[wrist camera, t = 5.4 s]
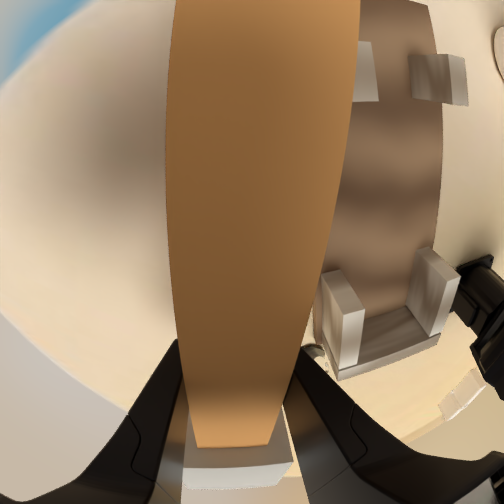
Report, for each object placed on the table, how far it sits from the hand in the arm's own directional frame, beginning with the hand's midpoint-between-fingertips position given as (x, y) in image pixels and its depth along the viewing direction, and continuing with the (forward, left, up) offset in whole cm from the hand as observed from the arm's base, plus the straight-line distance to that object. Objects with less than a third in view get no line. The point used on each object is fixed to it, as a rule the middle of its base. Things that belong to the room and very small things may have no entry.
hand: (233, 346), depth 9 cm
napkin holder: (-37, +46, -12) cm, 60 cm away
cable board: (-11, -1, -11) cm, 16 cm away
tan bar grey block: (0, -2, -1) cm, 2 cm away
